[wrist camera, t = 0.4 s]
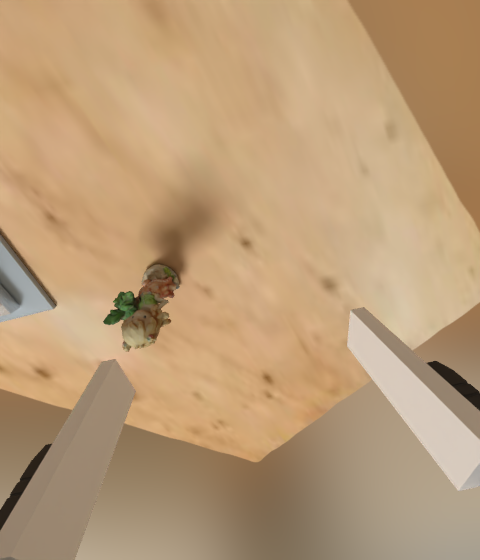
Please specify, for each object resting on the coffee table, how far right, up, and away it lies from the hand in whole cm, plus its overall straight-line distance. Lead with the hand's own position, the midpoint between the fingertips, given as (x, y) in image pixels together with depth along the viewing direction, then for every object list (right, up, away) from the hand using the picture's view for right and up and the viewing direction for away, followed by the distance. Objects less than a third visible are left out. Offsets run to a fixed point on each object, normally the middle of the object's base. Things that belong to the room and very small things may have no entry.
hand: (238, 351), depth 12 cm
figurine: (-15, +4, +27) cm, 31 cm away
